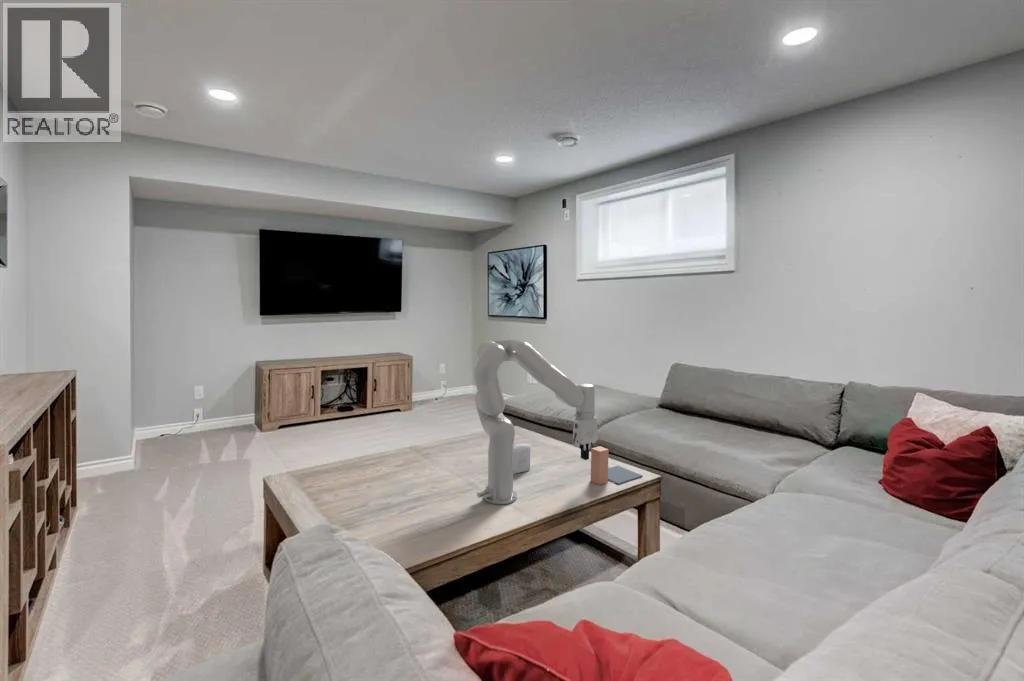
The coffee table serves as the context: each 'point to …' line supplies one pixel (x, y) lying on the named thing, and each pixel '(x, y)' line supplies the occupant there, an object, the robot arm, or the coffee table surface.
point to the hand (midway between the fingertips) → (584, 458)
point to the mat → (621, 475)
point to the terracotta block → (599, 465)
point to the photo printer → (521, 458)
